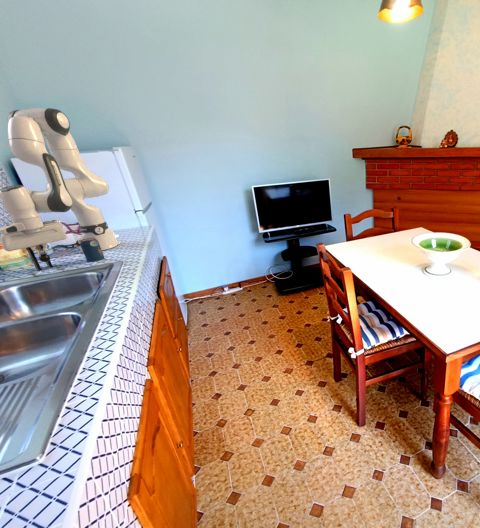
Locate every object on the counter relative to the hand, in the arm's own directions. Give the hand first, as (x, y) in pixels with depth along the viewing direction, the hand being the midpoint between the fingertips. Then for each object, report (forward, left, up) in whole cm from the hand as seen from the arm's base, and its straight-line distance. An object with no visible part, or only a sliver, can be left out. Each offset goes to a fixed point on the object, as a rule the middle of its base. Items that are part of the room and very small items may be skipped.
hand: (42, 254), depth 134 cm
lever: (-5, 0, -2) cm, 5 cm away
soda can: (+1, +17, -10) cm, 20 cm away
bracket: (-9, 0, -10) cm, 13 cm away
